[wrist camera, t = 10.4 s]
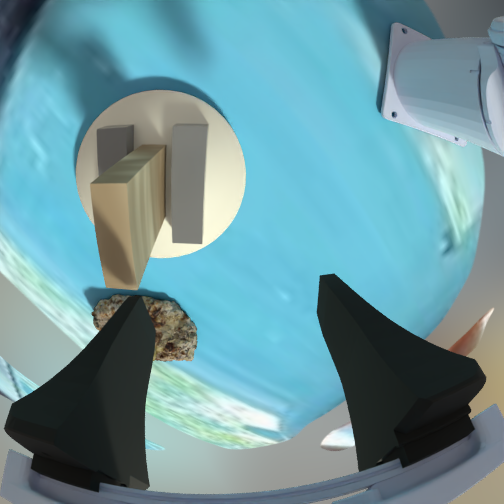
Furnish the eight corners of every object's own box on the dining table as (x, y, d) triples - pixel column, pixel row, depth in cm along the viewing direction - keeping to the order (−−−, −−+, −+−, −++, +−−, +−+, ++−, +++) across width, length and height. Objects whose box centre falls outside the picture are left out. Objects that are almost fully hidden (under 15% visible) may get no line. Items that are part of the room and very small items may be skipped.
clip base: (253, 93, 16) (257, 92, 14) (237, 254, 22) (238, 273, 20) (79, 97, 15) (61, 99, 12) (92, 247, 21) (80, 264, 19)
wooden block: (166, 144, 16) (127, 183, 10) (165, 216, 19) (137, 290, 12) (142, 144, 16) (89, 183, 9) (143, 215, 19) (106, 287, 12)
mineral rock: (215, 326, 23) (184, 389, 25) (212, 303, 27) (184, 363, 29) (94, 279, 20) (79, 351, 22) (109, 262, 24) (92, 328, 26)
